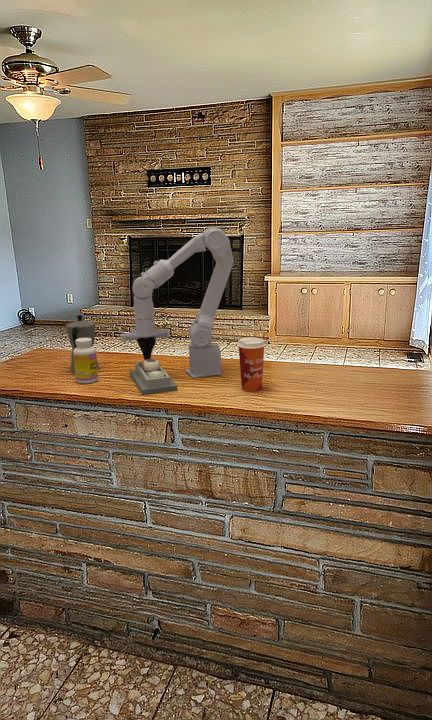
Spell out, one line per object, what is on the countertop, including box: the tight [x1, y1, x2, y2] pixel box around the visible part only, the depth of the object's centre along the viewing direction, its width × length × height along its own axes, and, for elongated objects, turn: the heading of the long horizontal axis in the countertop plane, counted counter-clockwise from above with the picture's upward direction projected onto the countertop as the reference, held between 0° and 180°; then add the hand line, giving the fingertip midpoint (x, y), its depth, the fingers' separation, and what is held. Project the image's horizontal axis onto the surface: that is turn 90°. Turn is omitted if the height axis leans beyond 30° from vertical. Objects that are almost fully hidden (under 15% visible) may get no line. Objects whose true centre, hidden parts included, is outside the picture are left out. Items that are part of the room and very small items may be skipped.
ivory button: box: [143, 358, 160, 373], centre depth 151 cm, size 4×4×3 cm
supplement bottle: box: [73, 338, 99, 384], centre depth 154 cm, size 7×7×13 cm
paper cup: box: [237, 336, 266, 393], centre depth 143 cm, size 8×8×14 cm
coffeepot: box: [65, 314, 100, 374], centre depth 163 cm, size 15×9×18 cm, turn 1°
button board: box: [129, 361, 178, 396], centre depth 152 cm, size 10×20×4 cm, turn 19°
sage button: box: [148, 371, 164, 379], centre depth 146 cm, size 4×4×3 cm
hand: (147, 361), depth 156 cm, fingers closed, pressing on terracotta button
